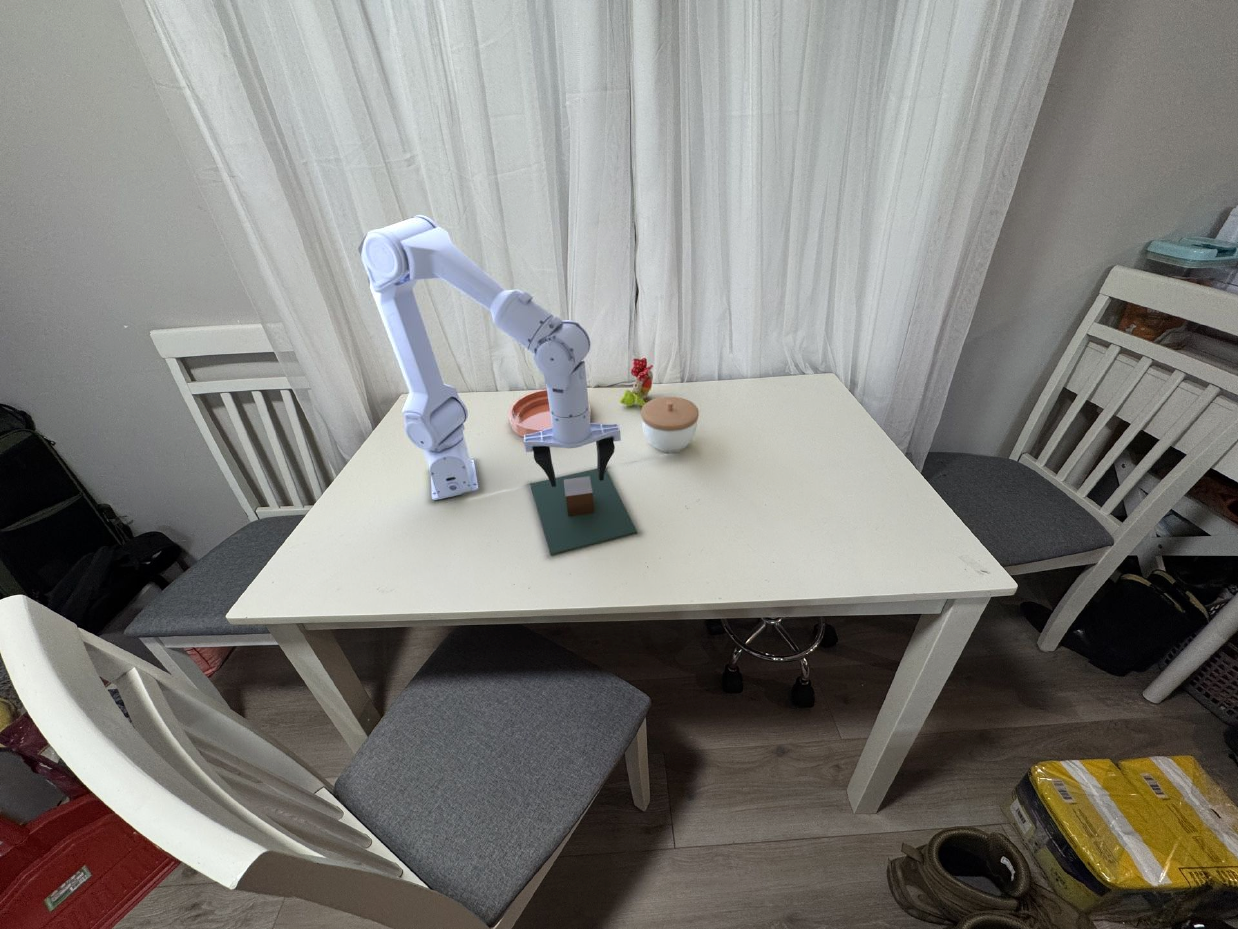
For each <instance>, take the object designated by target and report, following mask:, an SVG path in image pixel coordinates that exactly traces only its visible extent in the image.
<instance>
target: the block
mask: <svg viewBox="0 0 1238 929" xmlns="http://www.w3.org/2000/svg"><path fill="white" fill-rule="evenodd" d="M564 488H565V496H566V504H567V511H568V516H576V515H583V514H590V513H595V512H594V501H593V491H592V486H591V480H590V476H588V477H580V478H572V479H565V480H564Z"/></svg>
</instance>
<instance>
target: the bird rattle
mask: <svg viewBox="0 0 1238 929" xmlns="http://www.w3.org/2000/svg"><path fill="white" fill-rule="evenodd" d="M632 363H633V364H632V366H633V367H632V368H631V369H630V373H631V376H633V377H635V380H634V383H633V386H632V390H629V389H626V390H625V391H624V394H623V396H622V397H621V398H620V400H619V402H620V404H623V405H624V406H627V407H633V406H634V405H635V404H637V405H639V406H640V407H641V408H642V407H643V406H644V405H645V404H646V403H647V402H646V401H645V400H646V399H647V398H648V395H649V392H650V391H651V389H652V385H653V379H654V374H653V372H652V370H651V369H652V368H653V367H654V365H653V364H650V365H649V366H648V359H647V358H646V357H643V358H641V359H639V358H633V359H632Z"/></svg>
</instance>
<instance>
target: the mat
mask: <svg viewBox="0 0 1238 929" xmlns="http://www.w3.org/2000/svg"><path fill="white" fill-rule="evenodd" d="M588 476H590V480H591V486H592V491H593V501H594V512H595V513H590V514H583V515H576V516H568V511H567V504H566V496H565V488H564V480H565V479H572V478H580V477H588ZM555 480H556V487H552V485H551V482H550V480H549V479H544V480H541V481H536V482H532V483H530V488H531V492H532V496H533V498H534V499H533V500H534V502H535V506H536V509H537V513H538V516H539V519H540V523H541V526H542V530H543V533H544V537H545V540H546V544H547V547H548V552H549V554H550V556H554V555H558V554H561V553H565V552H569V551H574V550H577V549H581V548H585V547H589V546H593V545H597V544H600V543H604V542H609V541H613V540H616V539H620V538H624V537H628V536H631V535H635V534H638V530H637V529H636V527H635V525H634V523H633V521H632V519H631V517H630V514H629V512H628V510H627V508H626V507H625V505H624V503H623V500H622V499H621V497H620V495H619V493H618V490H617V488H616V487H615V485H614V482H613V480H612V478H611V476H610V475H609V472H608V470H607V469H606V470H605V473H604V480H602V481H599V476H598V469H597V468H594V469H591V470H586V471H580V472H577V473H572V474H568V475H562V476H559V477H555Z"/></svg>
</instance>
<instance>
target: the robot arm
mask: <svg viewBox="0 0 1238 929" xmlns="http://www.w3.org/2000/svg"><path fill="white" fill-rule="evenodd" d="M357 251H358V253H359V256H360V258H361V262H362V264H363V266H364V269H365V272H366V274H367V282H368V286H369V288H370V291H371V294H372V296H373V299H374V302H375V304H376V307H377V309H378V313H379V315H380V317H381V321H382V322H383V325H384V329H385V331H386V333H387V336H388V339H389V341H390V344H391V347H392V350H393V352H394V355H395V358H396V361H397V363H398V365H399V367H400V368H399V369H400V370H401V373H402V376H403V378H404V382H405V384H406V385H407V390H408V396H407V398H406V401H405V402H404V405H403V407H402V411H401V413H402V416H403V418H404V430H405V434H406V437H407V438H408V440H409V441H410V442H411V443H412V444H413V445H414V446H416V447H417V448H419V449H421V450H422V451H423V454H424V457H425V460H426V463H427V466H428V469H429V475H430V487H431V500H432V501H439V500H443V499H448V498H451V497H455V496H460V495H462V494H465V493H470V492H474V491H477V490H479V483H478V477H477V472H476V471H477V470H476V465H475V464H476V463H475V460H474V459H471V456H470V454H469V450H468V446H467V443H466V437H465V435H464V431H465V430H466V429H465V424H464V423H466V422H467V420H468V419H469V418H468V417H469V412H468V408H467V406H466V404H465V403H464V402H463V401H462V399H461V398H460V395H459V394H458V392H457V388H456V387H454V386H452V385H449V384H447V383H444V380H443V378H442V375H441V372H440V369H439V366H438V362H437V360H436V356H435V354H434V350H433V348H432V345H431V342H430V339H429V338H430V337H429V336H428V332H427V330H426V326H425V323H424V321H423V317H422V314H421V311H420V308H419V305H418V302H417V299H416V296H415V293H414V287H415V286H416V284H417V283H418V281H419V280H420V281H421V280H430V279H431V280H432V279H441V280H443V281H444V282H446V283H447V284H448V285H450V286H452V288H455V289H456V290H458V291H459V292H461V293H463V294H464V295H465V296H467V297H469V299H472V301H475V302H476V303H478V304H479V305H481V306H482V307H484V308H485V309H487V310H488V311H490V314H491V318H492V321H493V325H494V326H496V327H497V328H498V329H500V330H501V331H502V332H504V333H505V334H506V335H508V336H509V337H510V338H511V339H512V340H514V341H515V342H517V343H518V344H519V345H521V346H522V347H523V348H525V349H526V350H527V351H529V352H530V353H532V354H533V355H532V357H533V361H534V364H535V365H536V368H538V370H539V371H540V372H541V373H542V376H543V379H544V384H545V386H546V389H547V393H548V400H549V407H550V415H551V422H552V428H549V429H545V430H542V431H539V432H536V433H532V434H527V435H524V438H523V444H524V450H525V453H531V452H532V453H533V459H534V462H535V464H537V465H539V467H540V468H541V469H542V471H543V472H544V473H545V475H546V476H547V478H548V480H550V482H551V485H552V487H556V480H555V478H556V473H555V469H554V465H553V460H552V453H551V448H560V449H561V448H562V449H577V448H580V447H583V446H586V445H589V444H592V443H595V444H596V455H597V458H596V459H597V460H596V462H597V463H596V464H597V466H596V467H597V468H596V469H598V476H599V481H602V480H604V473H605V470H607V467H608V464H609V462H610V460H611V458H612V456H613V455H614V453H615V449H616V447H615V443H614V442H620V441H621V428H620V424H619V423H598V422H597V423H595V422H591V418H590V416H589V403H590V402H589V403H588V401H589V392H588V380H587V370H586V361H585V360H584V359H585V358H586V357H587V355H588V354H589V353H590V349H591V339H590V336H589V334H588V332H587V330H585V328H583V327H582V326H581V324H580V323H579V322H578V321H575V320H572V319H562V318H560V317H557V316H554V315H553V314H552V313H550V312H549V311H548V310H546V309H545V308H544V307H543V306H542V305H540V304H539V303H537V301H534V300H533V299H534V296H532V294H530V293H529V292H527V291H524V292H523V291H522V290H520V289H518V288H517V289H505V288H504V287H503V286H501V285H500V284H499V283H498V282H497V281H496V280H495V279H493V278H492V277H491V276H490V275H489V274H487V272H485V271H484V270H483V269H482V268H481V267H480V266H478V265H477V264H476V263H475V262H474V261H473V260H472V259H470V258H469V257H468V256H467V255H466V254H465V253H464V252H462V251H461V250H460V249H459V248H458V247H457V246H455V245H454V243H453V242H452V239H451V237H450V235H449V232H448V231H447V230H446V229H445V228H443V227H441V226H439V225H437V223H436V222H435V221H434V220H432V219H431V218H430V217H428V216H426V215H423V214H418V215H414V216H411V217H410V218H409V219H406V220H403V221H399V222H397V223H394V224H391V225H388V226H385V227H383V228H379V229H377V228H376V229H373V230H370V231H368V232H367V233H366V234H365V236H364V237H363V239H362V241H361V242H360V244H359V245H358V248H357Z"/></svg>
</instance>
